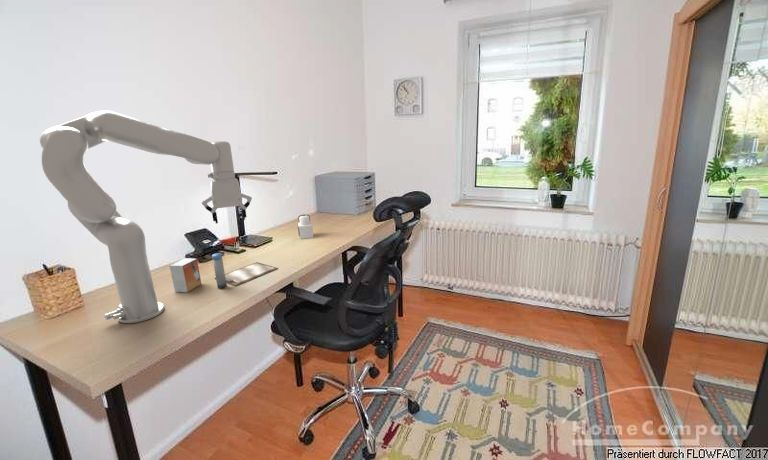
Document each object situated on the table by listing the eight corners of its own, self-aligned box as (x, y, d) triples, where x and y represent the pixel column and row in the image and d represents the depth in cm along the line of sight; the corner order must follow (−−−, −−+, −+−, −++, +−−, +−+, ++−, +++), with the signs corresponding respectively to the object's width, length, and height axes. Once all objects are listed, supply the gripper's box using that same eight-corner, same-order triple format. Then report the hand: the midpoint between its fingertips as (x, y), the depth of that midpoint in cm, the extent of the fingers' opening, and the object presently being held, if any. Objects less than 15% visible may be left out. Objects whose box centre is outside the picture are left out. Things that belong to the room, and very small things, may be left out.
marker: (220, 289, 135) (215, 256, 132) (215, 287, 137) (209, 255, 133) (228, 286, 138) (223, 253, 134) (223, 284, 140) (218, 252, 136)
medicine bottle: (298, 235, 199) (296, 214, 196) (311, 234, 201) (309, 213, 198) (299, 239, 193) (297, 217, 190) (313, 237, 195) (311, 216, 192)
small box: (187, 292, 134) (182, 266, 131) (174, 292, 135) (168, 265, 132) (202, 283, 141) (197, 258, 138) (189, 283, 142) (184, 257, 139)
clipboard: (235, 286, 137) (235, 283, 137) (214, 278, 145) (214, 276, 145) (277, 268, 153) (277, 266, 153) (257, 262, 161) (256, 260, 161)
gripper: (197, 179, 127) (205, 226, 132) (249, 175, 134) (255, 220, 139) (198, 176, 134) (205, 222, 139) (247, 173, 141) (253, 216, 145)
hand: (230, 221), depth 139 cm, fingers open, 9 cm apart
